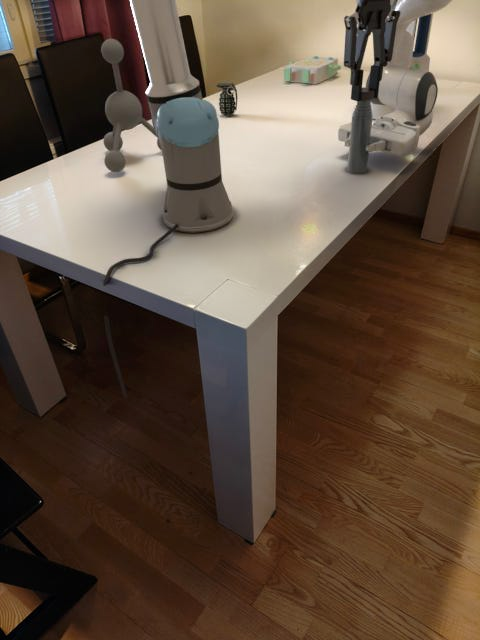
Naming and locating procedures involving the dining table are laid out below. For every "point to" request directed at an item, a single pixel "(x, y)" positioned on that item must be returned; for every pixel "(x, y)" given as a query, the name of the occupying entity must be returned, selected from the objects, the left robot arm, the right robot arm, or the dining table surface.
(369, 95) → the cap
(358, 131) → the bottle
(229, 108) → the grenade
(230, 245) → the dining table surface
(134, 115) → the molecular model
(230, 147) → the dining table surface
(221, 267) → the dining table surface
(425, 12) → the right robot arm
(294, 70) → the decorative block
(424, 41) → the electronic device
